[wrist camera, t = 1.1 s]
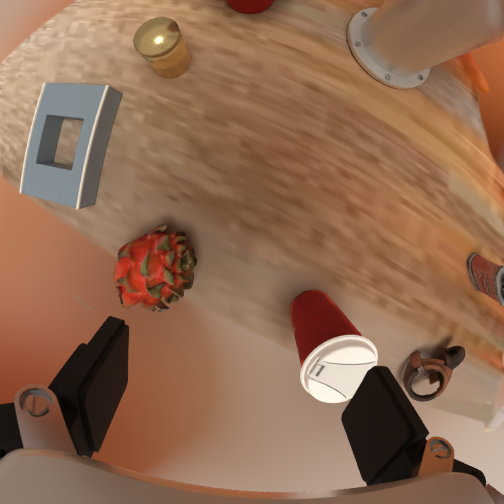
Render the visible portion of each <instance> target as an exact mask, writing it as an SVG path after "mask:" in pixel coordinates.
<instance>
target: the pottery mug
mask: <svg viewBox="0 0 504 504" xmlns="http://www.w3.org/2000/svg"><path fill="white" fill-rule="evenodd" d="M441 351H442V352H443V354H442V360H438V359H429V358H428V359H422V360H421V357H420V352H419V351H417V352H415V353H413V354H412V355H411V358H410V362H409V363H408V364H407V367H406V370H405V373H404V378H403V382H404V383H405V384H404V387H405V389H406V391H407V392H408V394H409V395H410V397H411V398H413V399H414V400H417V401H429V400H432V399H434V398H436V397H437V396H439V395H440V394H441V393H442V392H443V391H444V389H445V388H446V386H447V384H448V382H449V380H450V378H451V374H452V371H453V369H454V368H455V367H457V366H458V365H459V364H460V363H461V362H462V361H463V359H464V357H465V349H464V348H463V347H461V346H453V347H450V348H441ZM422 366H423V367H424V369H425V370H427V369H435V370H437V371H436V372H435V373H434V374H432V375H430V376H429V381H430V384H433V383H435V382H437V381H440V386H439V388H438V389H437V391H436V392H434V393H432V394H430V395H429V394H427V395H418V394H416V393H415V392H414V391H413V390H412V387H411V385H412V381H413V379H414V377H415V376H416V375H417V374H418V373H419V372H418V370H417V369H418V368H420V367H422Z"/></svg>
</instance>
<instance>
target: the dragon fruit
mask: <svg viewBox="0 0 504 504" xmlns="http://www.w3.org/2000/svg"><path fill="white" fill-rule="evenodd" d="M168 229H169V228H168V226H167V225H166V224H163V225H159V226H157V227H156V228H154V229H152V230H151V231H150V233H149V235H145V234H144V235H143V236H142V237H140V238H138V239H136V240H134V241H132V242H130V243H127V244H126V245H124V246H123V247H122V248H120V250H119V252H118V263H117V264H116V265H115V271H114V283H115V286H116V288H118V293H119V297H120V299H121V304H123V307H125V308H129V307H131V306H133V305H136V304H138V303H139V302H141V307H142V308H144V309H146V310H153V311H156V308H155V306H157V307H159V308H161V309H160V310H158V312H163V311H166V310H168V309H169V307H167V306H166V305H165V304H164V303H163V302H162V301H161V300H160V299H161V298H162V300H163V301H165V302H166V303H174V302H177V301H178V300H179V297H181V298H182V297H183V296H184V294H183V293H184V291H183V290H185V289H190V288H191V287H192V285H193V279H194V273H193V271H192V270H193V268H194V266H195V265H196V263H197V259H196V257H195V256H194V253H195V252H194V249H193V248H192V246H191V245H186V242H187V241H188V242H189V240H190V239H189V240H188V239H187V236H186V235H185V233H184V232H173V233H171V234H170V235H167V234H166V232H165V231H167V230H168Z"/></svg>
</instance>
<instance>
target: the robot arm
mask: <svg viewBox="0 0 504 504" xmlns="http://www.w3.org/2000/svg"><path fill="white" fill-rule="evenodd" d="M503 37H504V0H386V1H385V2H384V3H383V4H382V5H381V6H380V7H379V8H376V7H373V8H366V9H363V10H361V11H359V12H358V13H356V14H355V15H354V16H353V18H352V19H351V21H350V22H349V25H348V29H347V38H348V43H349V46H350V49H351V51H352V53H353V55H354V57H355V58H356V60H357V61H358V63H359V64H360V65H361V66H362V68H363V69H364V70H366V71H367V72H368V73H369V74H370V75H371V76H372V77H374V78H375V79H376V80H378V81H379V82H381V83H383V84H385V85H387V86H390V87H393V88H397V89H410V88H414V87H417V86H419V85H421V84H422V83H424V82H425V80H426V79H427V78H428V76H429V73H430V70H431V67H433V66H436V65H438V64H441V63H443V62H446V61H448V60H450V59H453V58H456V57H458V56H461V55H463V54H466V53H469V52H471V51H474V50H477V49H480V48H482V47H485V46H488V45H491V44H493V43H496V42H498V41H499V40H501V39H502V38H503ZM355 45H356V46H355ZM385 78H386V79H385ZM128 344H129V326H128V325H125V321H124V320H121V319H118V318H115V317H112V316H109V317H108V318H107V320H106V321H105V322H104V323H103V325H102V326H101V327H100V329H99V330H98V331H97V332H96V334H95V335H94V336H93V338H92V339H91V340H90V342H89V343H88V344H84V343H83V344H80V345H79V346H78V348H77V349H76V350H75V352H74V353H73V354H72V355H71V357H70V358H69V359H68V361H67V362H66V363H65V365H64V366H63V367H62V369H61V370H60V371H59V373H58V374H57V375H56V377H55V378H54V380H53V381H52V383H51V384H50V385H49V387H48V388H47V387H45V386H41V385H28V386H25V387H23V388H22V389H20V390H19V391H18V392H17V394H16V397H15V402H14V403H7V404H0V504H504V495H503V494H501V493H500V492H499V491H497V490H496V489H495V488H493V487H492V486H490V485H489V484H487V485H486V479H485V476H484V474H483V473H482V472H481V471H480V470H478V469H476V468H474V467H472V466H469V465H467V464H465V463H463V462H460V461H458V460H456V459H454V449H453V447H452V445H451V444H450V443H449V442H448V441H447V440H445V439H444V438H441V437H431V438H430V439H428V440H426V437H427V435H428V434H429V432H428V430H427V428H426V427H425V425H424V424H423V422H422V420H421V418H420V417H419V415H418V414H417V412H416V410H415V409H414V407H413V406H412V404H411V402H410V401H409V399H408V398H407V396H406V395H405V393H404V391H403V390H402V388H401V387H400V385H399V384H398V382H397V381H396V379H395V378H394V376H393V374H392V373H391V371H390V370H389V368H388V367H386V366H373V367H372V368H371V369H369V370H368V371H367V373H366V375H365V376H364V378H363V380H362V382H361V383H360V385H359V387H358V389H357V390H356V392H355V394H354V395H353V397H352V399H351V401H350V402H349V404H348V406H347V407H346V408H345V410H344V412H343V413H342V418H341V420H342V423H343V426H344V429H345V431H346V434H347V437H348V440H349V442H350V445H351V448H352V451H353V454H354V457H355V459H356V462H357V465H358V468H359V471H360V474H361V477H362V479H363V480H364V481H365V482H366V484H367V486H366V487H358V488H351V489H342V490H331V491H318V492H317V491H316V492H255V491H241V490H230V489H220V488H212V487H205V486H199V485H193V484H187V483H182V482H177V481H171V480H167V479H163V478H158V477H153V476H149V475H145V474H142V473H138V472H134V471H130V470H127V469H124V468H120V467H117V466H114V465H110V464H106V463H103V462H100V461H97V460H94V459H90V458H91V457H92V454H93V452H94V451H95V452H99V450H100V447H101V445H102V443H103V440H104V438H105V435H106V433H107V430H108V428H109V426H110V423H111V421H112V419H113V416H114V414H115V412H116V409H117V407H118V405H119V402H120V400H121V398H122V395H123V393H124V391H125V389H126V386H127V382H128ZM83 455H85V456H87V457H89V458H86V457H83ZM381 483H382V484H381Z"/></svg>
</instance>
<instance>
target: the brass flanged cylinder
mask: <svg viewBox="0 0 504 504" xmlns="http://www.w3.org/2000/svg"><path fill="white" fill-rule="evenodd" d="M133 42H134V47H135V49H136V50H137V51H138V52H139V53H140V54H141V55H142V56H143V57H144V58H145V59H146V60H147V61H148V63H149V64H150V65H151V66H152V67H153V68H154V69H155V71H156V72H157V73H158V74H159V75H160V76H162V77H164V78H175V77H178V76H180V75H182V74H184V73H185V72H186V71H187V70H188V68H189V67H190V64H191V56H190V53H189V51H188V48H187V46H186V44H185V42H184V39H183V37H182V35H181V32H180V29H179V27H178V25H177V23H176V22H175V21H173V20H172V19H169V18H164V17H160V18H154V19H151V20H149V21H147V22H146V23H144V24H143V25H142V26H141V27H140V28H139V29H138V30H137V32H136V33H135V36H134V41H133Z"/></svg>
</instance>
